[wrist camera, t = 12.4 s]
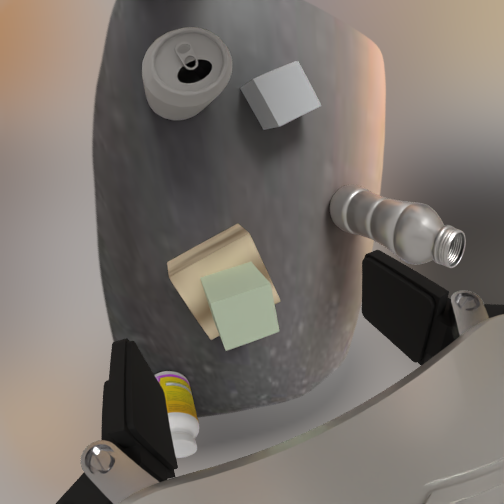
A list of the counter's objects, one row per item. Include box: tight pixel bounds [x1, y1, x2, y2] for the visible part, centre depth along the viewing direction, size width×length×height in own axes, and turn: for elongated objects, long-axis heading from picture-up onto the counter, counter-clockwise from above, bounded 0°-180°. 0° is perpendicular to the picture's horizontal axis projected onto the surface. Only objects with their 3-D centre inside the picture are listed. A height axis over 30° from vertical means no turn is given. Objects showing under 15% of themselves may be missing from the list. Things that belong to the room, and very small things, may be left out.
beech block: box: [167, 224, 280, 340], centre depth 36 cm, size 10×10×5 cm
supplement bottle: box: [154, 371, 200, 458], centre depth 35 cm, size 7×7×13 cm
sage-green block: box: [200, 262, 279, 351], centre depth 31 cm, size 6×6×6 cm
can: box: [142, 27, 232, 120], centre depth 23 cm, size 8×8×12 cm
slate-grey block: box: [240, 61, 321, 130], centre depth 30 cm, size 6×6×5 cm
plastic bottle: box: [330, 185, 466, 268], centre depth 31 cm, size 6×7×20 cm
